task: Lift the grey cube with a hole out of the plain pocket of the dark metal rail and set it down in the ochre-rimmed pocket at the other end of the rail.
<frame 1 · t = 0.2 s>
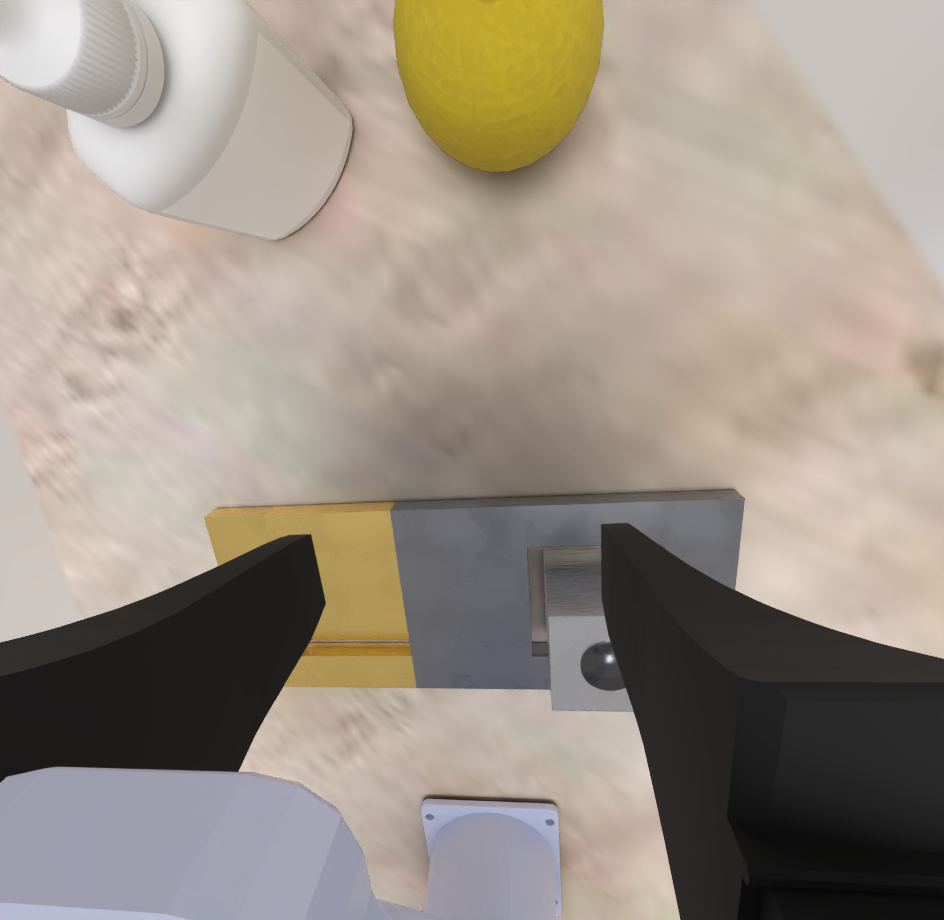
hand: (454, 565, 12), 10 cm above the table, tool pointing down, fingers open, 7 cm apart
eye dropper bottle: (297, 167, 18), on the table
rail: (468, 592, 24), on the table
grey cube with hole: (591, 589, 23), resting in rail
lemon: (504, 108, 17), on the table
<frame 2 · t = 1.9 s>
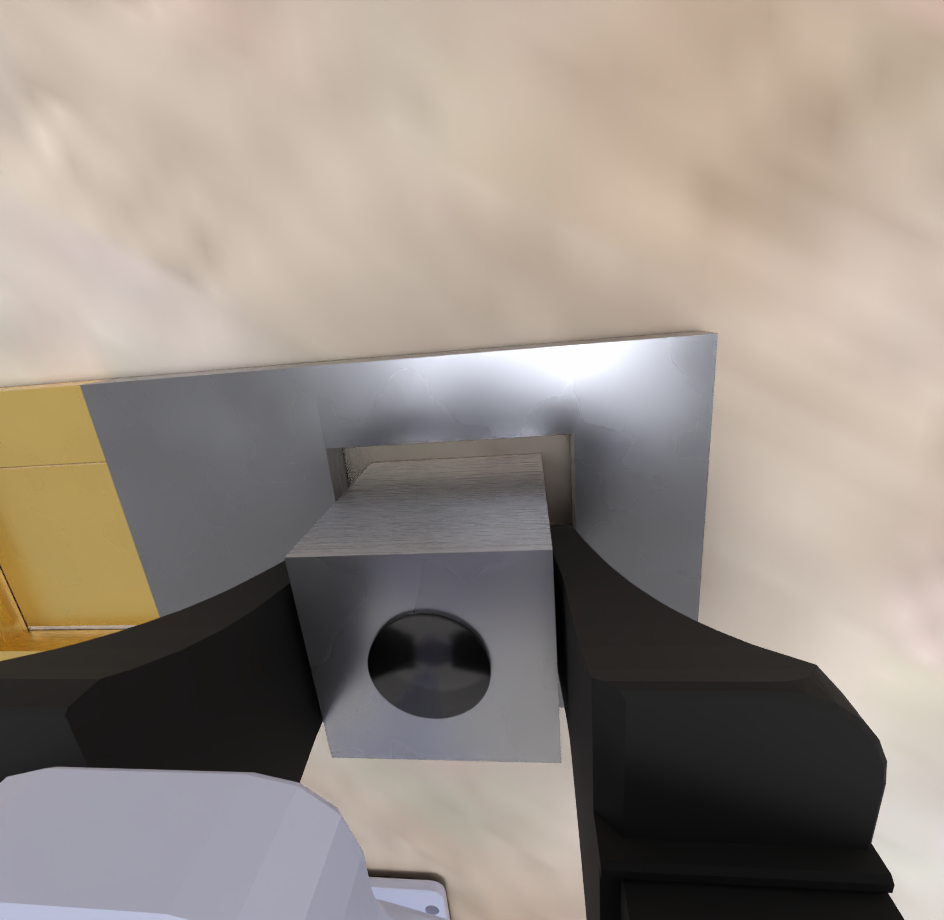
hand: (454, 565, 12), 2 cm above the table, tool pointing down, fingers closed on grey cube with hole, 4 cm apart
rail: (259, 542, 14), on the table
grey cube with hole: (462, 534, 13), resting in rail, touching gripper
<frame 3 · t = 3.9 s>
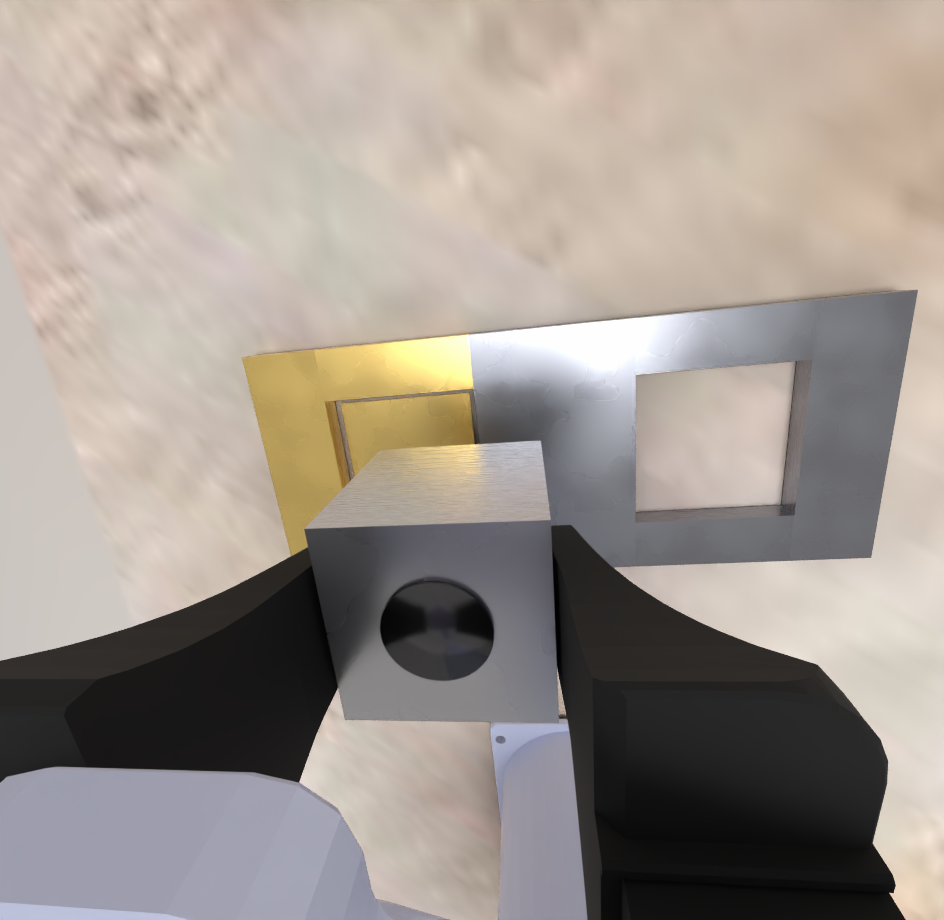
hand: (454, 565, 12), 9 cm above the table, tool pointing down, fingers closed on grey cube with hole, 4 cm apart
rail: (555, 450, 20), on the table
grey cube with hole: (466, 519, 14), point 7 cm above the table, touching gripper
when the fingers open (3 cm above the table, at t = 5.7 s): grey cube with hole stays where it is, resting on rail.
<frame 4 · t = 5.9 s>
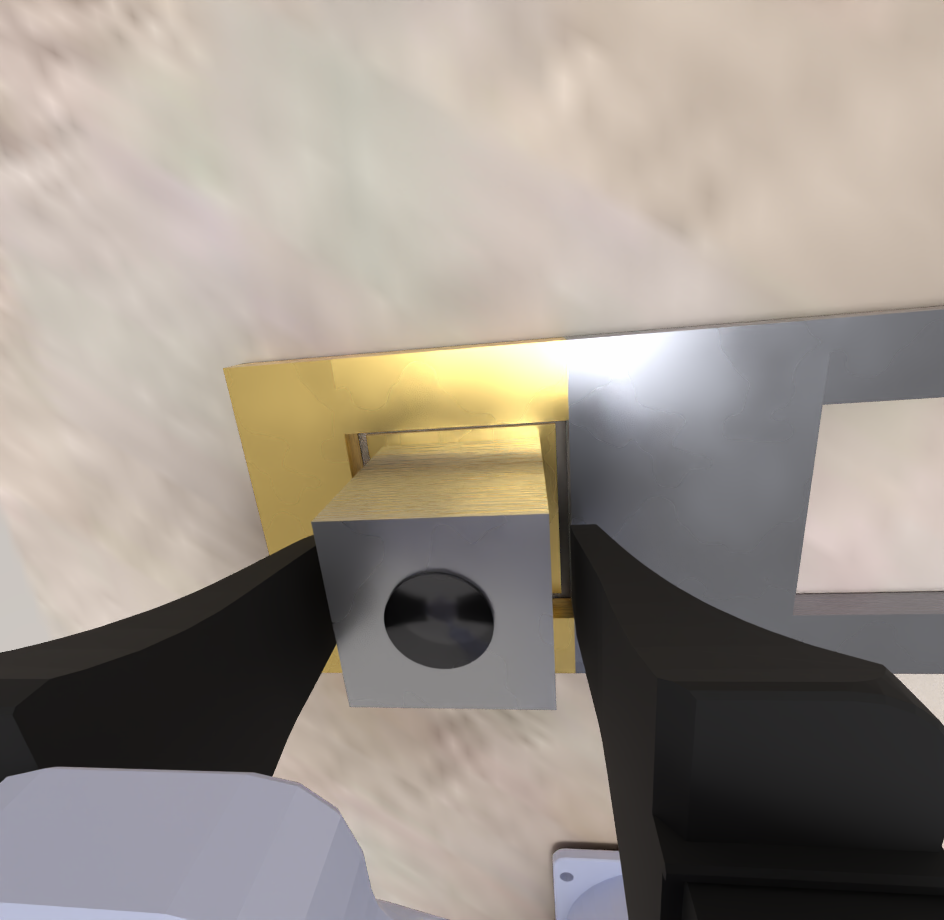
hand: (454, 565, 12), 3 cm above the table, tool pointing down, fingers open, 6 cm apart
rail: (674, 506, 14), on the table
grey cube with hole: (466, 514, 14), resting on rail
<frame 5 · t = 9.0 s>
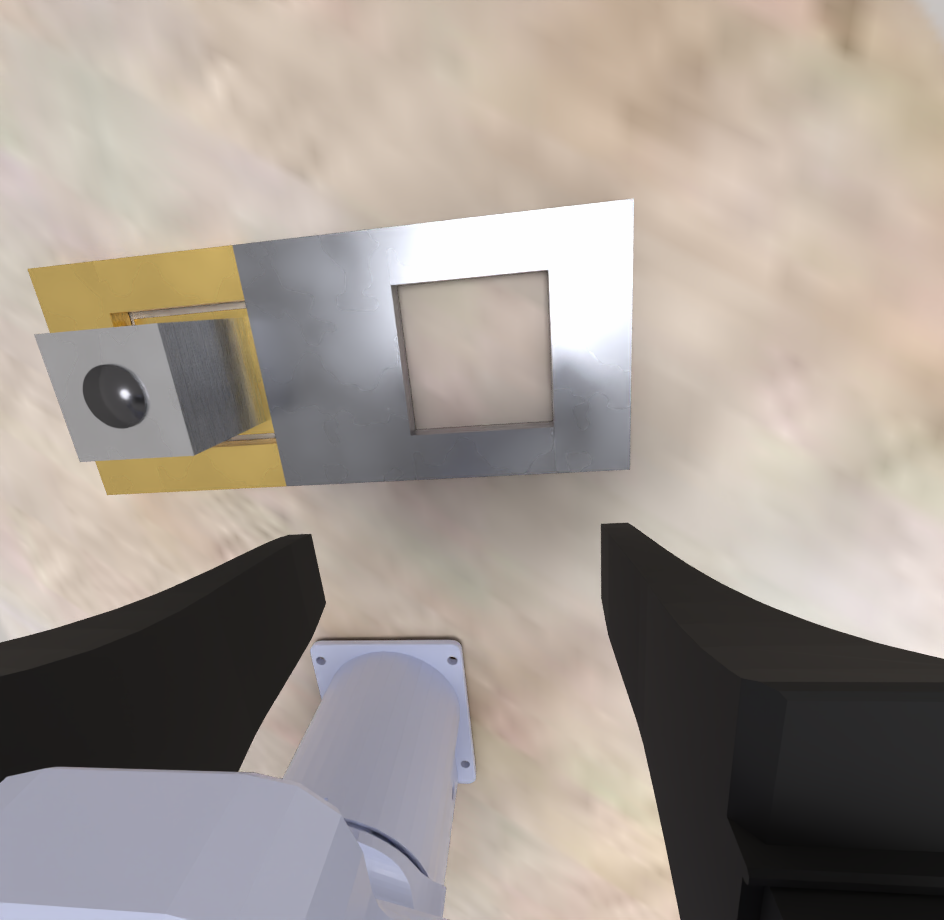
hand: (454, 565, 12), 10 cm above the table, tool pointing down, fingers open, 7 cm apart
rail: (338, 366, 21), on the table
grey cube with hole: (207, 374, 21), resting on rail
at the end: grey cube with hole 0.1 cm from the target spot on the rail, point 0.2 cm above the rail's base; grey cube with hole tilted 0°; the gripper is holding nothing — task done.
